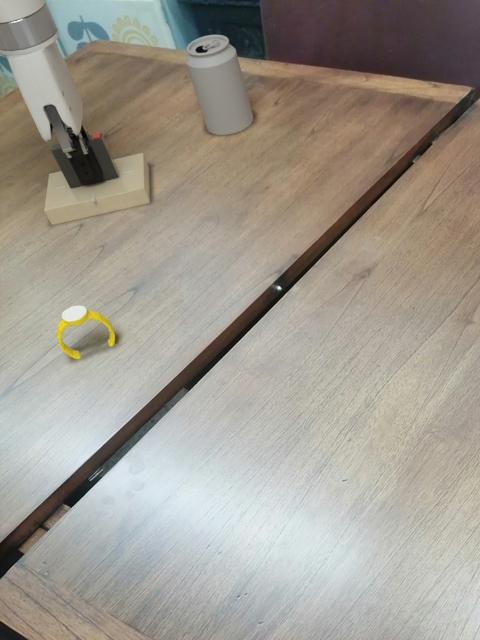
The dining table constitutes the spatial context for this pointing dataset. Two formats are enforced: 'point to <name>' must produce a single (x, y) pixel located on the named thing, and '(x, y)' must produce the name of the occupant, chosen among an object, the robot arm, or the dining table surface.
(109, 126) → the dining table surface
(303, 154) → the dining table surface
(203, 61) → the can
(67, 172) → the grey block
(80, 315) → the watch
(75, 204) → the tan rectangular block
